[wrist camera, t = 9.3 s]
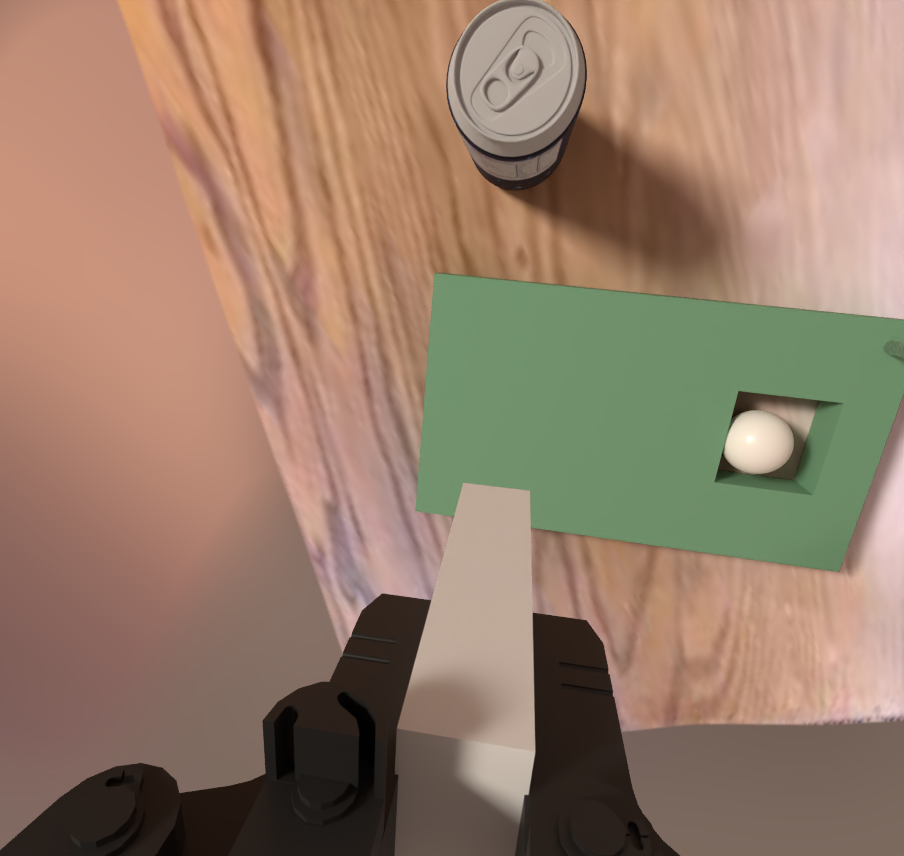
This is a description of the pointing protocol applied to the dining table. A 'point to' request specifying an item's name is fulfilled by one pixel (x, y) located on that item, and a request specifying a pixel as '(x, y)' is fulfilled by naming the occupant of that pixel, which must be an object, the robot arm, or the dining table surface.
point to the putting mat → (652, 414)
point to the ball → (758, 442)
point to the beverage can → (516, 90)
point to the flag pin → (894, 348)
